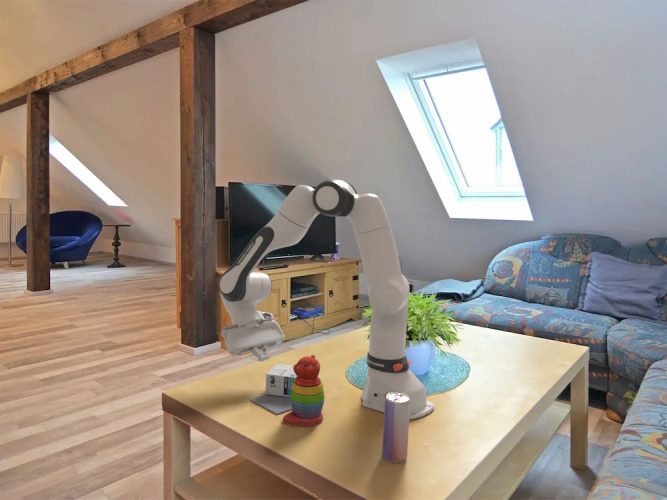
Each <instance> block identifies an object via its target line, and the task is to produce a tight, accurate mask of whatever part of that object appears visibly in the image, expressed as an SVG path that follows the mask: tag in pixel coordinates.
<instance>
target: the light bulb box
mask: <svg viewBox="0 0 667 500" xmlns="http://www.w3.org/2000/svg"><path fill="white" fill-rule="evenodd" d="M293 367H294V365H290V364H282V363H276V364H275V365H274V366H273V367H272V368H271V369H270V370H269V371H268V372H266V374H265V375H266V377H265V393H264V395H265V394H269V395H276V396H283V397H290V394H291V390H292V386H293V383H294V379H295V378H296V377H297V375H296V374H295V372H294V369H293ZM290 398H291V397H290Z"/></svg>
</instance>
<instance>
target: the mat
mask: <svg viewBox="0 0 667 500" xmlns="http://www.w3.org/2000/svg"><path fill="white" fill-rule="evenodd" d="M250 401H251V402H253V403H254V404H256V405H257V406H260V407H262V408H264V409H266V410H267V411H268V412H271V413H272V414H274V415H276V416H278V415H281V414H285V413H287V412H291V411H292V407H291V400H290V397H283V396H276V395H269V394H265V393H264V394H262V395H258V396H255V397H252V398H250Z"/></svg>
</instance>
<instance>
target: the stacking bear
mask: <svg viewBox="0 0 667 500" xmlns="http://www.w3.org/2000/svg"><path fill="white" fill-rule="evenodd" d="M293 366H294V367H293V369H294V372H295V374H296V375H297V377H296V378H295V379H294V383H293V386H292V390H291V394H290V397H291V398H290V400H291V407H292V410H291V411H289V412H288V413H286V414H285V415H283V417H282V423H284V424H286V425H289V426H294V427H300V428H301V427H304V428H306V427H315V426H318V425H319V424H321V423H322V422H323V421H324V416H323V413H322V411H323V407H324V403H325V390H324V384H323V382H322V380H321V379H320V377H319V373H320V372H321V364H320V362H319V360H318V359H316V356H315V355H314V354H311V355H310V356H303V357H300V359H299V360H298V361H297V362H296V363H295V364H294V365H293Z"/></svg>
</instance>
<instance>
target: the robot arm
mask: <svg viewBox="0 0 667 500" xmlns="http://www.w3.org/2000/svg"><path fill="white" fill-rule="evenodd" d="M320 214H321V215H323V216H326V217H332V218H333V217H335V218H337V217H338V218H345V217H346V218H347V219H348V220H349V221H350V224H351V225H352V230H353V232H354V233H353V234H354V236H355V239H356V240H355V241H356V243H357V247H358V251H359V255H360V258H361V262H362V268H363V274H364V279H365V286H366V291H367V295H368V300H369V304H370V306H371V308H372V309H371V310H372V311H371V318H370V325H369V339H368V341H369V342H368V352H367V355H366V365H367V370H366V371H367V372H366V375H365V376H366V377H365V382H364V386H363V390H362V393H361V396H360V397H361V399H362V406H363V407H365V408H368V409H371V410H373V411H374V410H375V411H376V412H377V411H378V412H381V413H384V405H385V399H386V395H387V394H389V393H402V394H405V395H407V396H408V397H409V401H410V413H409V420H414V419H415V420H416V419H418V418H422V417H424V416H427V415H429V414H430V413H432V412H433V411H434V408H435V405H434V403H433V402H431V401H429V400H428V399H427V391H426V390H427V389H426V387H425V385H424V384H423V383H422V382H421V381H420V380H419V378H418V377H417V376H416V375H415V374H414V373H413V372H412V371H411V369H410V365H412V364H413V363H412V362H413V360H408V359H407V358H408V357H407V354H406V341H407V325H408V317H409V316H408V315H409V314H408V313H409V303H410V291H411V290H410V288H411V287H410V283H409V281H408V279H407V278H406V276H405V275H403V272H402V269H401V263H400V259H399V253H398V248H397V245H396V240H395V238H394V233H393V231H392V226H391V222H390V219H389V216H388V214H387V211H386V209H385V207H384V204H383V202H382V200H381V198H380V197H379V196H378V195H376V194H373V193H362V194H358V193H357V191H356V188H355V187H354V186H353V185H352V184H350V183H349V182H347V181H343V180H341V179H325V180H323V181H321V182H320V183H318V184H317V186H316V187H315V188H313V187H311V186H309V185H306V184H300V185H299V184H298V185H296V186H295V187H294V188H293V189H292V190H291V191H290V192H289V194H288V195H287V196H286V197H285V199H284V200H283V202H282V203H281V205H280V207H279V208H278V210H277V212H276V213H275V215H274V216H273V217H272V218H271V219H270V221H269V222H268V223H267V224H266V225H264V226H263V227H262V228H260V229H259V230H258V231H257V232H256V233H255V234H254V236H253V237H252V238H251V240H250V241H249V242H248V243H247V245H246V247H245V248H244V249H243V250H242V252H240V254H239V256H238V257H237V259H236V260H235V261H234V262H233V263H232V265H231V266H229V268H227V269H226V270H225V271H224V272H223V273H222V275H221V276H220V278H219V283H218V288H219V295H220V298H221V300H222V303H223V306H224V308H225V311H226V312H227V313H228V314H229V316H230V317H229V318H230V321H231V324H232V325H228V326H224V327H223V328H222V329H221V333H220V334H221V335H222V338H223V339H224V344H225V349H226V351H227V353H228V354H229V355H231V356H234V355H239V354H242V353H243V354H244V353H247V352H250V353H251V354H252V355H253V356H255V358H257V360H258V361H259V362H264V361H268V360H269V359H270V355H269V347H274V346H278V345H281V344H282V343H283V341H284V340H285V333H284V332H283V330H282V328H281V326H280V324H279V323H278V321H276V320H274V319H275V315H274V314H273V313H271V312H264V311H260V310H257V308H256V306H257V305H259V304H261V303H262V302H264V301H265V300H267V299H268V298H269V297H270V296H271V293H272V292H273V291H272V290H273V282H272V280H271V277H270V276H269V275H268V274H267V273H265V272H260V271H255V269H256V268H257V266H258V265H259V264H260V262H261V261H262V259H263V258H264V257H265V256H266V255H267V254H269V253H271V252H272V251H275V250H278V249H283V248H287V247H291V246H294V245H297V244H298V243H299V242H300V241H301V240H302V239H303V238H304V237H305V235H306V234H307V232H308V231H309V228H310V227H311V225H312V223H313V222H314V221H315V219H316V217H317V216H318V215H320ZM259 350H260V351H261V352H263V353H261V352H260V351H259ZM426 414H427V415H426Z"/></svg>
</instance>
